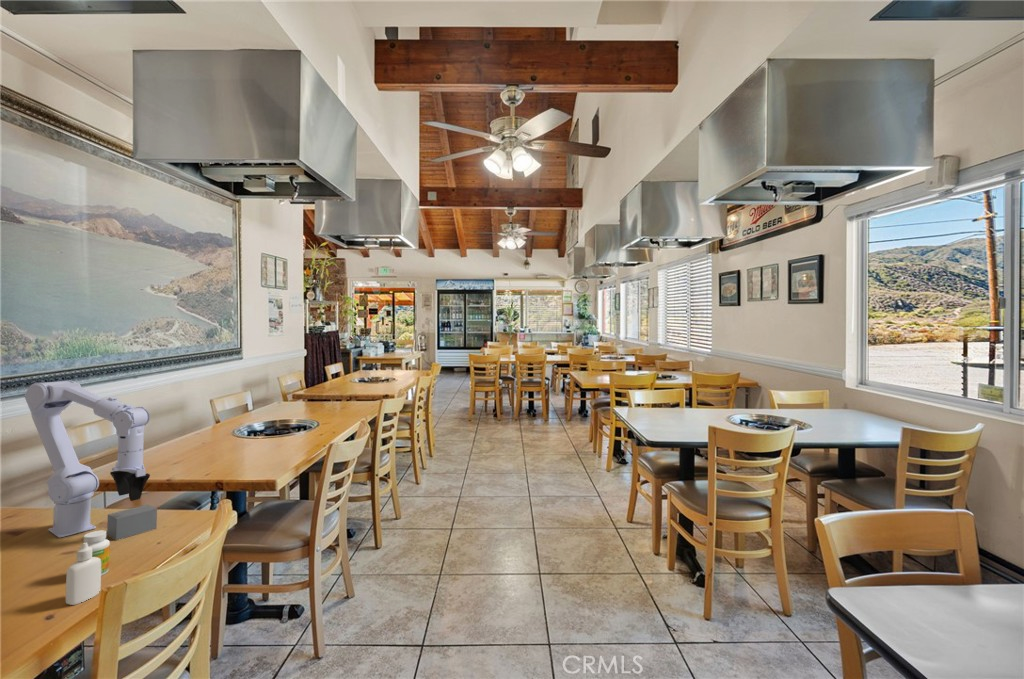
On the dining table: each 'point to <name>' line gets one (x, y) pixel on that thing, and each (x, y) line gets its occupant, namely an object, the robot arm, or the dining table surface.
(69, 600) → the eye dropper bottle
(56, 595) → the dining table surface
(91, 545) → the supplement bottle
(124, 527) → the gray block
